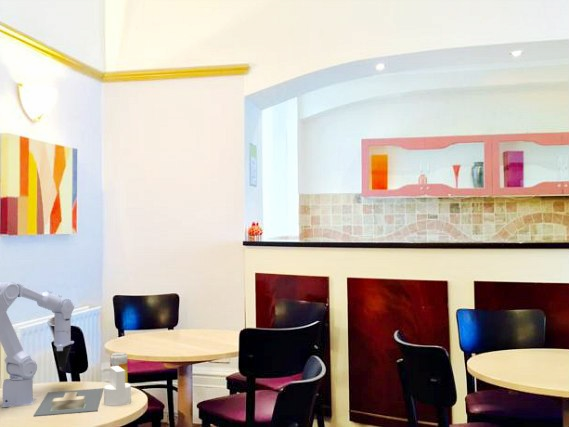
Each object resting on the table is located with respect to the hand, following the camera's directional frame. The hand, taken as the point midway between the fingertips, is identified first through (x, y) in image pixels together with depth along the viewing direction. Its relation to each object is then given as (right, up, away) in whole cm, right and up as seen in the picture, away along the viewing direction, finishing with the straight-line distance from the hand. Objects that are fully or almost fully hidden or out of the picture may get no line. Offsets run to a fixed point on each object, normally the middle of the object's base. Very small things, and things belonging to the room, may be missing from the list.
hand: (62, 366), depth 217 cm
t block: (+10, -8, -19) cm, 23 cm away
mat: (+8, -9, -14) cm, 18 cm away
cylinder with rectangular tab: (+25, -9, -16) cm, 31 cm away
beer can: (+23, -9, -5) cm, 25 cm away
